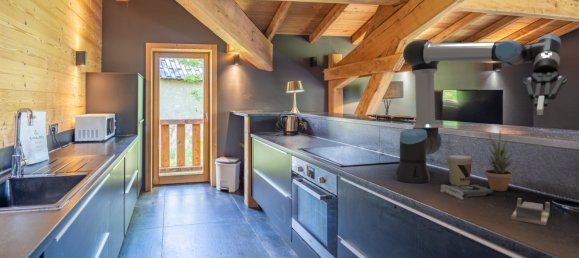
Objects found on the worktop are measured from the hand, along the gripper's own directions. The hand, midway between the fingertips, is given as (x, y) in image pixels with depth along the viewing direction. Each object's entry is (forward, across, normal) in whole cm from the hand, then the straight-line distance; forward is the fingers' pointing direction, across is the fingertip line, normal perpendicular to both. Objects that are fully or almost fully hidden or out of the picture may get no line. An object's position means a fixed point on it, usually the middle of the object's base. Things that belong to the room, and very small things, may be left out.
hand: (539, 112), depth 116 cm
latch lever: (+28, 0, +14) cm, 31 cm away
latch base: (+34, 0, +12) cm, 36 cm away
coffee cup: (+10, -29, +36) cm, 47 cm away
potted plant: (+10, -14, +35) cm, 39 cm away
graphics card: (+22, -21, +24) cm, 39 cm away
